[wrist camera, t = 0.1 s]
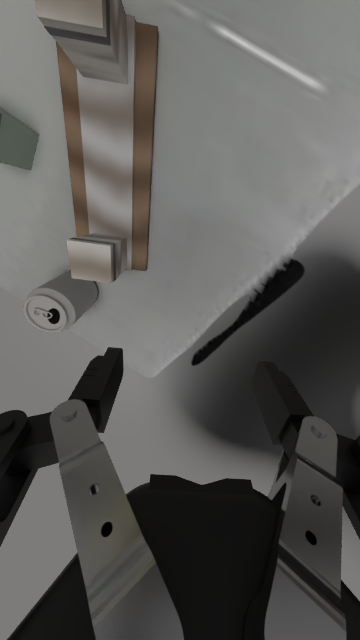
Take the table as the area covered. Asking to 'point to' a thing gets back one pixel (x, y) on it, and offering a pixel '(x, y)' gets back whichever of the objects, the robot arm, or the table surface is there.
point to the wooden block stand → (106, 130)
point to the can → (59, 303)
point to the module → (16, 142)
